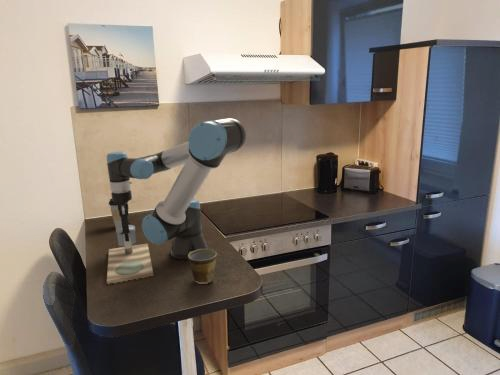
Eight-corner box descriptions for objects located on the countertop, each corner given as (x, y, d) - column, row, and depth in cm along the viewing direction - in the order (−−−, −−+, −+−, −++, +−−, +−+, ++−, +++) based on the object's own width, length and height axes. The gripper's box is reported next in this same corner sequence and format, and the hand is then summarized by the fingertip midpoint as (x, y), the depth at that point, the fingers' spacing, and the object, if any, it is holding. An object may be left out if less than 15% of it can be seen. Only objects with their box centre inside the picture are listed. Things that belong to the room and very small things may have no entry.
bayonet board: (109, 252, 164) (106, 229, 161) (148, 246, 168) (145, 224, 166) (107, 284, 136) (103, 257, 133) (153, 276, 141) (150, 249, 138)
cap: (137, 244, 156) (135, 227, 154) (118, 247, 154) (115, 230, 152) (136, 238, 163) (134, 222, 161) (117, 241, 160) (115, 224, 159)
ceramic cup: (224, 279, 136) (222, 253, 134) (203, 290, 129) (200, 263, 127) (200, 269, 145) (198, 244, 142) (178, 279, 138) (176, 253, 135)
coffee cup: (107, 229, 193) (103, 200, 189) (122, 223, 201) (118, 195, 197) (121, 231, 188) (117, 202, 185) (135, 225, 196) (132, 197, 193)
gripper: (131, 195, 145) (138, 252, 150) (130, 184, 163) (136, 234, 169) (110, 198, 142) (118, 255, 148) (111, 186, 161) (118, 237, 167)
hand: (127, 244), depth 158 cm, fingers closed on cap, 7 cm apart
